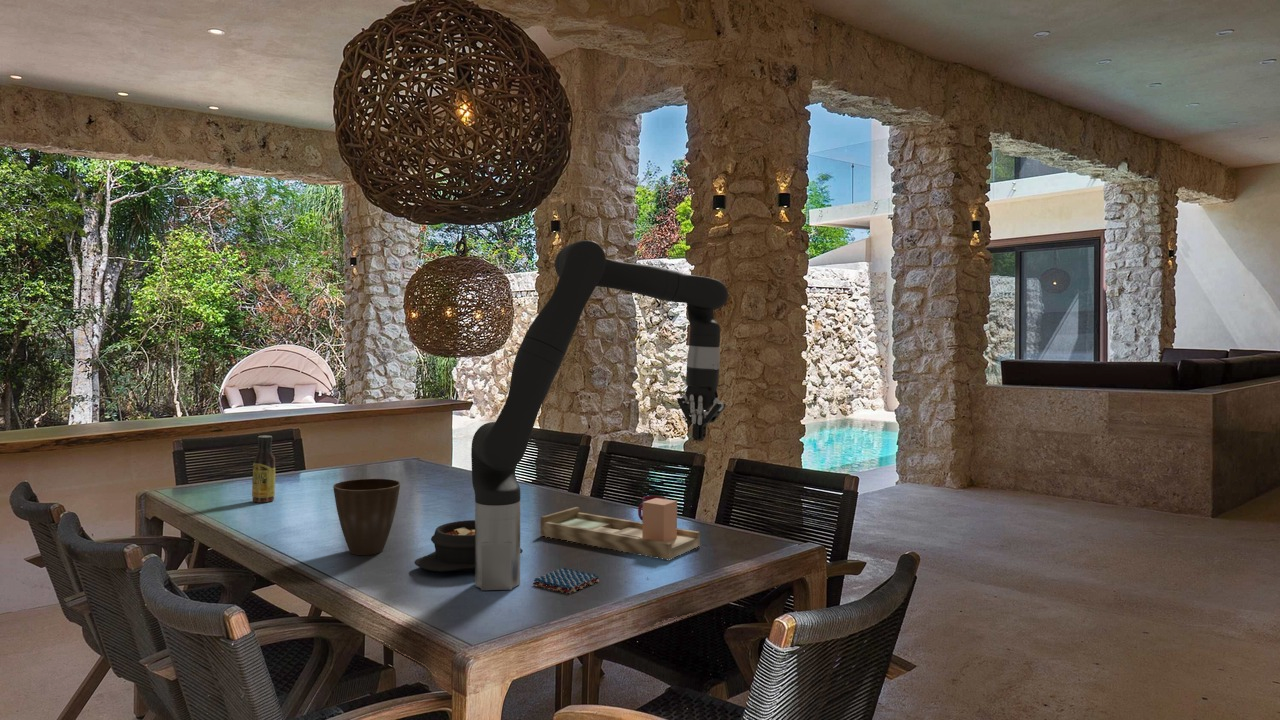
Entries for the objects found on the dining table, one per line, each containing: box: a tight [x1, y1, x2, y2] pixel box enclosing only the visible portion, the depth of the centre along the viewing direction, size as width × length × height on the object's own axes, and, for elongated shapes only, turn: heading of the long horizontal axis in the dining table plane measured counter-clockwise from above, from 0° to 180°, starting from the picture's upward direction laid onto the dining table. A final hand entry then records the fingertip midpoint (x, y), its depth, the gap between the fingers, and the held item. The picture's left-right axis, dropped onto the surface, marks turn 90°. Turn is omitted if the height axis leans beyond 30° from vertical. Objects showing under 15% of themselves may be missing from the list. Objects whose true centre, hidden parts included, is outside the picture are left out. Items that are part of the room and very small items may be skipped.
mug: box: [637, 495, 668, 522], centre depth 223 cm, size 7×10×7 cm
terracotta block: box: [642, 498, 678, 542], centre depth 197 cm, size 6×6×9 cm
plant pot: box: [332, 478, 401, 556], centre depth 193 cm, size 15×15×16 cm
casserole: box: [414, 519, 524, 573], centre depth 183 cm, size 25×19×8 cm
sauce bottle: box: [251, 435, 276, 504], centre depth 248 cm, size 7×6×20 cm
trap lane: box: [540, 506, 701, 561], centre depth 204 cm, size 38×14×5 cm, turn 56°
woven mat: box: [532, 567, 600, 593], centre depth 170 cm, size 10×11×2 cm
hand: (698, 440), depth 190 cm, fingers closed
